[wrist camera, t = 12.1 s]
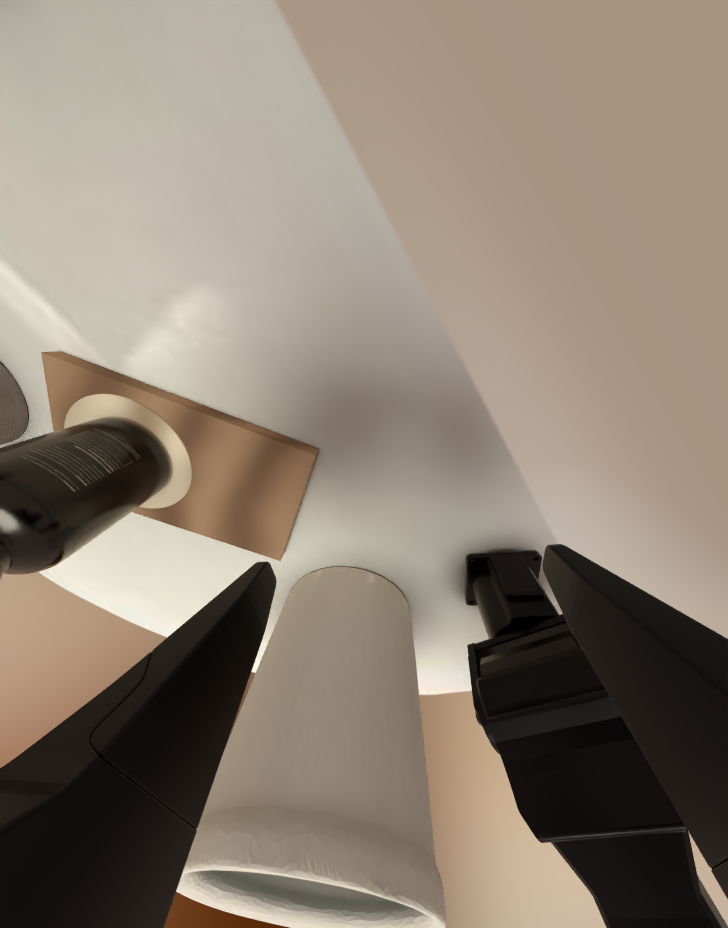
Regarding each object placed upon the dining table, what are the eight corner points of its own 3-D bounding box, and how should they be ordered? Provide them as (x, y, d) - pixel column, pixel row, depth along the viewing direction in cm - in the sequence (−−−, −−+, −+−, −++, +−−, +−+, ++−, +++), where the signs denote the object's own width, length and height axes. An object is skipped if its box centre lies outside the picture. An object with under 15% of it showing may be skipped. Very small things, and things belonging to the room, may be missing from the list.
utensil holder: (254, 597, 30) (111, 885, 14) (354, 536, 25) (304, 870, 9) (340, 661, 34) (304, 936, 19) (440, 620, 30) (503, 944, 14)
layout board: (319, 449, 21) (315, 456, 20) (284, 551, 27) (279, 562, 25) (60, 351, 19) (38, 352, 18) (77, 482, 25) (61, 490, 23)
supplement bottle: (69, 424, 21) (-280, 523, 10) (144, 407, 19) (-153, 497, 9) (121, 498, 23) (-105, 639, 13) (189, 487, 22) (7, 629, 12)
